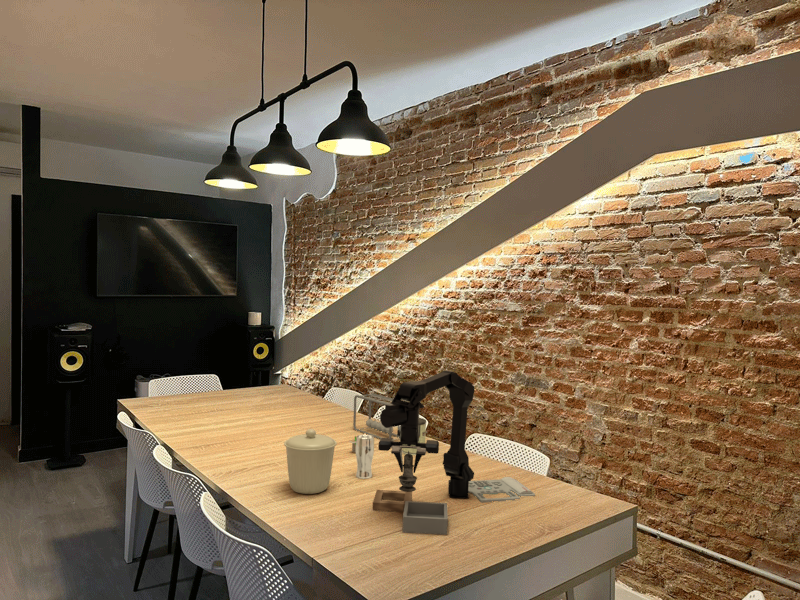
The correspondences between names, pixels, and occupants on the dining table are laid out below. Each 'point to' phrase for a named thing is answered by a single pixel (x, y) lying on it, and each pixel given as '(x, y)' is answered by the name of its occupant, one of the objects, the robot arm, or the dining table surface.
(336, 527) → the dining table surface
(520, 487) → the grey cutout plate
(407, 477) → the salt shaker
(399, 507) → the socket block
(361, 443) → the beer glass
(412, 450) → the coffee can
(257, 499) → the dining table surface
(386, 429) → the newton's cradle
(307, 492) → the canister
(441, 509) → the bin
